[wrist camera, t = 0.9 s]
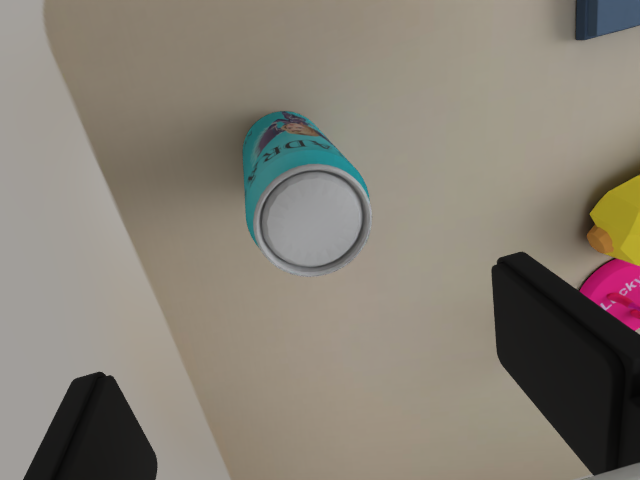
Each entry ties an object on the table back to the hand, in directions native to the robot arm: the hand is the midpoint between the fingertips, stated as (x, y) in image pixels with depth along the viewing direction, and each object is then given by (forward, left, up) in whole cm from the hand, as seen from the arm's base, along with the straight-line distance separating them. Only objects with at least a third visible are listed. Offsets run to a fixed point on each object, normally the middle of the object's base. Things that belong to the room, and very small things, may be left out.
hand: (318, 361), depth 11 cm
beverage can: (0, +1, -24) cm, 24 cm away
